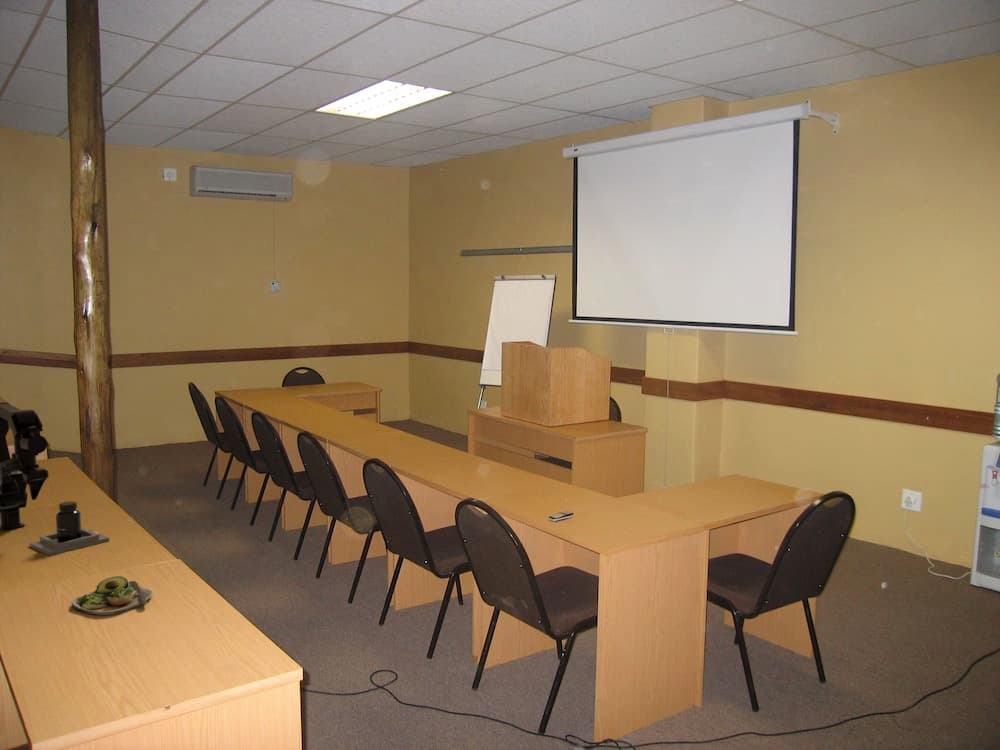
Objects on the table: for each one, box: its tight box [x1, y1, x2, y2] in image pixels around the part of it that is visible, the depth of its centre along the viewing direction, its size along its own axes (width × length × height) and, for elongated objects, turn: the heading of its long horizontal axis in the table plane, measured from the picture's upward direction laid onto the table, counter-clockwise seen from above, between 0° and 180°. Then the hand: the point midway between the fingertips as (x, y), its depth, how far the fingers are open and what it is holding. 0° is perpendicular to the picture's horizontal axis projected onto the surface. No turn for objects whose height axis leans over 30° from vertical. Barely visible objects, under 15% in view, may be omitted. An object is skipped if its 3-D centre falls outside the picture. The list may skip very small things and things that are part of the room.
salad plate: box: [71, 575, 153, 616], centre depth 199 cm, size 19×18×5 cm
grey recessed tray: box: [29, 526, 110, 556], centre depth 244 cm, size 14×18×2 cm
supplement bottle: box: [55, 500, 82, 543], centre depth 244 cm, size 7×7×12 cm
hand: (28, 497), depth 250 cm, fingers open, 9 cm apart
